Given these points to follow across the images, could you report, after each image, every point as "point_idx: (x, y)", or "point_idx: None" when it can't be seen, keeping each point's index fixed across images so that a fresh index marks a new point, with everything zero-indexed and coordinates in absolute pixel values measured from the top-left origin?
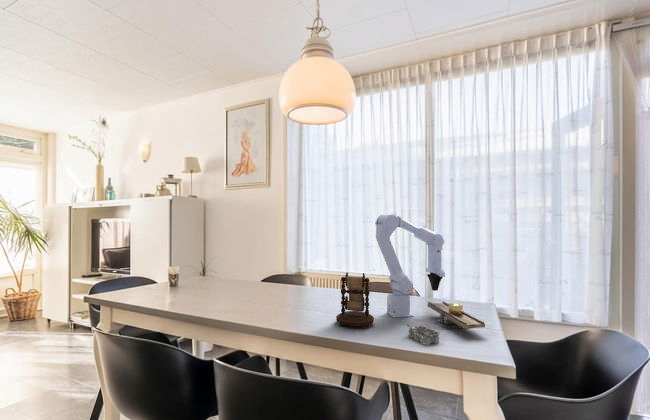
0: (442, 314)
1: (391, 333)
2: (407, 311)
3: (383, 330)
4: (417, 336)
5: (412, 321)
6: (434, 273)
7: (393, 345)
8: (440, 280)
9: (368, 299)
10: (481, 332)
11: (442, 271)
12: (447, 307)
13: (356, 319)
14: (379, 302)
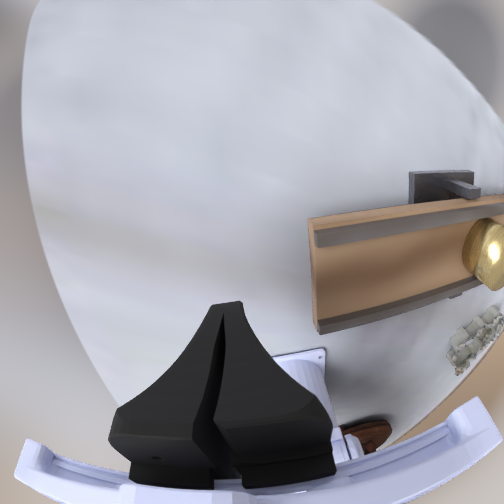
0: (461, 293)
1: (426, 383)
2: (322, 377)
3: (406, 397)
4: (475, 346)
5: (372, 352)
6: (260, 494)
7: (465, 372)
8: (281, 369)
9: None
10: (495, 169)
11: (438, 482)
12: (408, 245)
13: (383, 442)
14: (124, 401)
